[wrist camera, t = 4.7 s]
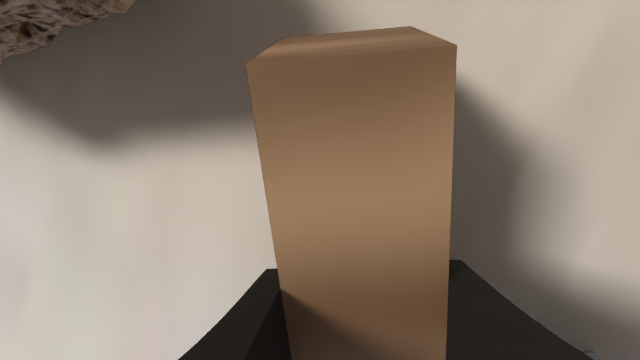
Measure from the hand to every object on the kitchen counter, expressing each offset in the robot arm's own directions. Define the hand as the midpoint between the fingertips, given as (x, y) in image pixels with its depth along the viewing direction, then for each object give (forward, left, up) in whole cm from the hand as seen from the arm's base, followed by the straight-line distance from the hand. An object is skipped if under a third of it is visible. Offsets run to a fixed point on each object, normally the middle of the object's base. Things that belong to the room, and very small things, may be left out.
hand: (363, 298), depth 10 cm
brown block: (0, 0, -4) cm, 4 cm away
